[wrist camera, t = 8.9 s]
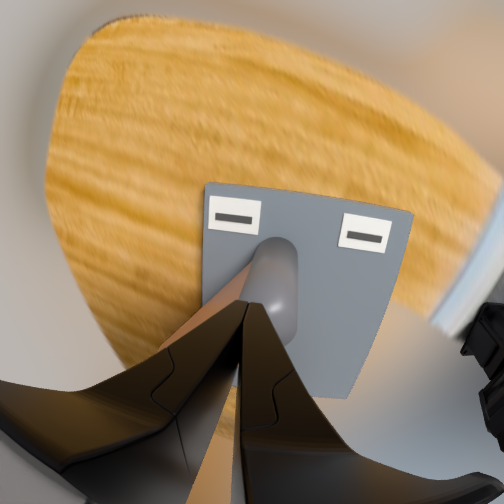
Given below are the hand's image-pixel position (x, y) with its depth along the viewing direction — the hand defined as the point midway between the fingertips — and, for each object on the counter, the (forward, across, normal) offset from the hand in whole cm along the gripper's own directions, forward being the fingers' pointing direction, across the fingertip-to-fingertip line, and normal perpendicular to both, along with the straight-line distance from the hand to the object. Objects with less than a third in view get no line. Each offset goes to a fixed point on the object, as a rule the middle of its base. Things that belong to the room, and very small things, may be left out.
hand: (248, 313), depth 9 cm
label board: (+12, -3, +8) cm, 15 cm away
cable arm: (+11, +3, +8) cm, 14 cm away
